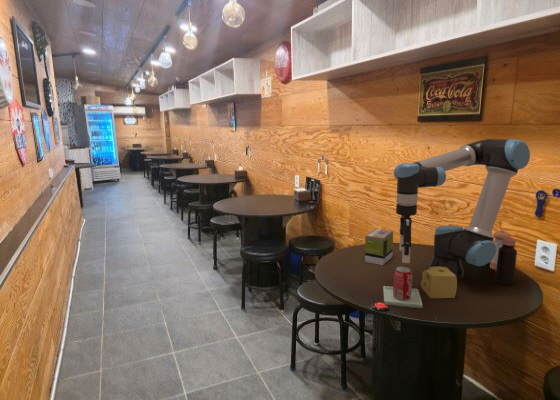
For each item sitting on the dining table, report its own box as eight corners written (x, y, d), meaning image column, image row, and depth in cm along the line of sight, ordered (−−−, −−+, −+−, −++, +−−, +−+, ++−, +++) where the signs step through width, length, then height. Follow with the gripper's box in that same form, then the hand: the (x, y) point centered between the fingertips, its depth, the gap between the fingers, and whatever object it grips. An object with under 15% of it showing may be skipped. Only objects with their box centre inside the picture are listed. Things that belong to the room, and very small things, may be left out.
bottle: (494, 278, 161) (499, 236, 157) (512, 280, 158) (517, 237, 154) (495, 284, 155) (500, 240, 151) (514, 286, 152) (519, 242, 148)
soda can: (409, 293, 146) (411, 266, 144) (412, 301, 139) (414, 273, 137) (391, 292, 147) (393, 265, 145) (393, 300, 141) (395, 271, 138)
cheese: (420, 287, 153) (421, 266, 151) (445, 287, 152) (447, 265, 150) (429, 299, 143) (431, 275, 141) (456, 299, 142) (458, 275, 140)
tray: (417, 292, 148) (417, 289, 148) (422, 308, 135) (422, 304, 135) (383, 289, 152) (383, 285, 152) (384, 304, 139) (384, 301, 138)
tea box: (374, 253, 195) (375, 227, 192) (393, 257, 189) (394, 230, 186) (364, 262, 183) (365, 234, 180) (383, 266, 177) (384, 237, 175)
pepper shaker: (497, 264, 176) (501, 227, 172) (511, 270, 169) (515, 231, 166) (486, 266, 174) (490, 229, 170) (499, 272, 167) (503, 233, 163)
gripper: (394, 197, 149) (392, 245, 153) (398, 211, 125) (396, 267, 129) (413, 197, 147) (410, 246, 151) (421, 211, 123) (418, 269, 127)
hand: (404, 256), depth 140 cm, fingers open, 13 cm apart
